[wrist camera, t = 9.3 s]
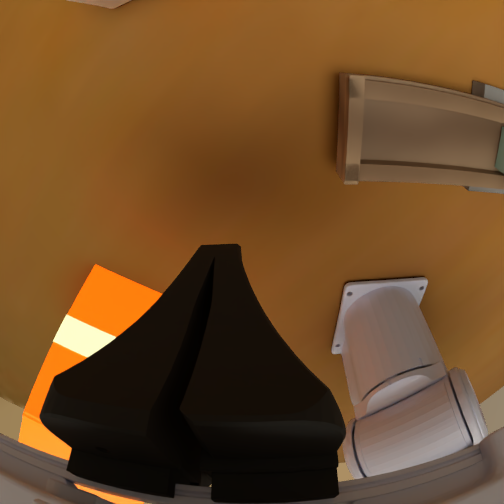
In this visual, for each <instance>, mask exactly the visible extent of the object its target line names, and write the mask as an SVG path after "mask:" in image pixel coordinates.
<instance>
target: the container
mask: <svg viewBox="0 0 504 504" xmlns="http://www.w3.org/2000/svg"><path fill="white" fill-rule="evenodd" d="M68 1H74V2H80V3H86V4H91V5H96V6H101V7H106V8H110V9H113V8H117V7H119V6H121V5H123V4H125V3H127V2H129V1H131V0H68Z"/></svg>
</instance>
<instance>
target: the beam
mask: <svg viewBox="0 0 504 504" xmlns="http://www.w3.org/2000/svg"><path fill="white" fill-rule="evenodd" d="M502 126H504V90H501V89H498V88H496V87H493V86H490V85H487V84H483V83H480V82H476V81H473V85H472V94H469V93H465V92H461V91H457V90H453V89H448V88H444V87H439V86H434V85H430V84H424V83H419V82H413V81H408V80H401V79H395V78H388V77H380V76H372V75H362V74H351V73H339V119H338V144H337V163H336V172H337V173H338V175H339V177H340V178H341V180H342V181H343V183H344V184H358V181H382V182H410V183H430V184H446V185H460V186H464V187H465V188H466V189H467V190H468V191H480V192H491V193H502V194H504V173H502V172H501V171H499V170H498V169H497V168H495V164H496V159H497V154H498V149H499V143H500V137H501V131H502Z"/></svg>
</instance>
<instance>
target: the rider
mask: <svg viewBox="0 0 504 504" xmlns="http://www.w3.org/2000/svg"><path fill="white" fill-rule="evenodd" d="M495 168H497V169H498V170H499V171H501V172H502V173H504V126H502V131H501V137H500V143H499V149H498V154H497V159H496V164H495Z"/></svg>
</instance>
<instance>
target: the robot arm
mask: <svg viewBox="0 0 504 504" xmlns="http://www.w3.org/2000/svg"><path fill="white" fill-rule="evenodd" d="M427 284H428V280H427V279H426V278H425V277H420V278H407V279H393V280H379V281H363V282H350V283H347V284H346V285H345V286H344V290H343V295H342V301H341V306H340V311H339V316H338V320H337V325H336V330H335V334H334V339H333V343H332V348H331V351H332V353H333V354H341V355H342V359H343V364H344V369H345V374H346V378H347V383H348V388H349V394H350V398H351V401H352V404H353V405H354V411H355V417H356V418H353V419H351V420H350V421H349V422H348V424H347V427H346V428H345V424H344V420H343V417H342V414H341V412H340V409H339V407H338V405H337V403H336V401H335V399H334V397H333V395H332V393H331V391H330V389H329V388H328V387H327V386H326V385H325V384H324V383H323V382H322V381H320V380H319V379H318V378H317V377H316V376H315V375H314V374H313V373H312V372H311V371H310V370H309V369H308V368H307V367H306V366H305V365H304V364H303V362H302V361H301V360H300V359H299V358H298V357H297V356H296V355H295V354H294V352H293V351H292V350H291V349H290V347H289V346H288V345H287V344H286V342H285V341H284V340H283V339H282V337H281V336H280V335H279V334H278V332H277V331H276V329H275V328H274V326H273V325H272V323H271V322H270V320H269V319H268V317H267V316H266V314H265V312H264V311H263V309H262V307H261V305H260V304H259V302H258V300H257V298H256V296H255V294H254V292H253V290H252V287H251V285H250V283H249V280H248V278H247V275H246V273H245V270H244V267H243V263H242V256H241V247H240V246H239V245H238V244H219V245H201V246H200V247H199V248H198V250H197V251H196V252H195V254H194V255H193V257H192V258H191V259H190V261H189V262H188V263H187V265H186V266H185V267H184V269H183V270H182V271H181V272H180V274H179V275H178V276H177V277H176V279H175V280H174V281H173V282H172V284H171V285H170V286H169V287H168V288H167V290H166V291H165V292H164V293H163V294H162V295H161V296H160V297H159V299H158V300H157V301H156V302H155V303H154V304H153V305H152V306H151V307H150V308H149V309H148V310H147V311H146V312H145V313H144V314H143V315H142V316H141V317H140V318H139V319H138V320H137V321H136V322H134V323H133V324H132V325H131V326H130V327H128V328H127V329H126V330H125V331H123V332H122V333H121V334H120V335H118V336H117V337H116V338H115V339H114V340H112V341H111V342H109V343H108V344H107V345H105V346H104V347H102V348H101V349H100V350H98V351H97V352H95V353H94V354H92V355H91V356H89V357H87V358H86V359H84V360H83V361H81V362H79V363H77V364H76V365H74V366H72V367H70V368H68V369H67V370H65V371H63V372H61V373H59V374H57V375H55V376H54V378H53V380H52V383H51V385H50V388H49V390H48V393H47V395H46V398H45V401H44V403H43V406H42V409H41V412H40V414H39V418H40V421H41V422H42V424H43V425H44V426H45V427H46V428H47V429H48V430H49V431H50V432H51V433H52V434H54V435H55V436H56V437H58V438H59V439H60V440H61V441H63V442H64V443H65V444H67V445H68V446H69V447H71V448H72V449H71V453H70V457H69V460H66V459H63V458H60V457H57V456H54V455H51V454H49V453H46V452H43V451H40V450H38V449H35V448H33V447H30V446H28V445H25V444H23V443H21V442H18V441H16V440H14V439H11V438H9V437H7V436H5V435H3V434H1V433H0V504H116V503H113V502H110V501H108V500H105V499H103V498H101V497H99V496H97V495H95V494H92V493H89V492H87V491H84V490H81V489H78V488H77V486H76V485H75V484H77V485H80V486H83V487H86V488H89V489H93V490H96V491H100V492H103V493H107V494H111V495H115V496H119V497H123V498H127V499H132V500H136V501H141V502H147V503H152V504H504V427H502V428H500V429H498V430H496V431H494V432H493V433H491V434H490V435H488V429H487V426H486V422H485V419H484V416H483V413H482V410H481V408H480V405H479V402H478V400H477V397H476V395H475V392H474V390H473V387H472V385H471V383H470V380H469V378H468V376H467V374H466V372H465V370H462V369H458V368H457V367H454V368H453V369H451V370H450V371H448V369H447V368H446V366H445V364H444V361H443V359H442V356H441V354H440V352H439V349H438V347H437V345H436V342H435V340H434V338H433V336H432V333H431V331H430V329H429V327H428V325H427V322H426V320H425V318H424V316H423V314H422V312H421V310H420V308H419V305H420V302H421V300H422V297H423V295H424V292H425V289H426V287H427ZM421 286H422V287H421ZM348 292H350V293H348ZM342 442H343V452H344V457H345V461H346V464H347V467H348V469H349V471H350V473H351V475H352V476H353V478H354V480H349V481H342V482H338V477H337V467H338V455H337V450H338V449H339V447H340V446H341V444H342ZM211 484H212V486H211V487H209V486H210V485H211Z"/></svg>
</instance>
